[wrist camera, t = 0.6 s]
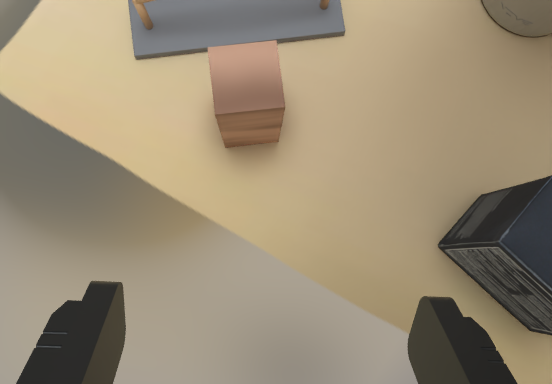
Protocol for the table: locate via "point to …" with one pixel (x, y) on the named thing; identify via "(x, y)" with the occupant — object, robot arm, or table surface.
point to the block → (247, 92)
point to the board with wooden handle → (227, 23)
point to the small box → (510, 249)
